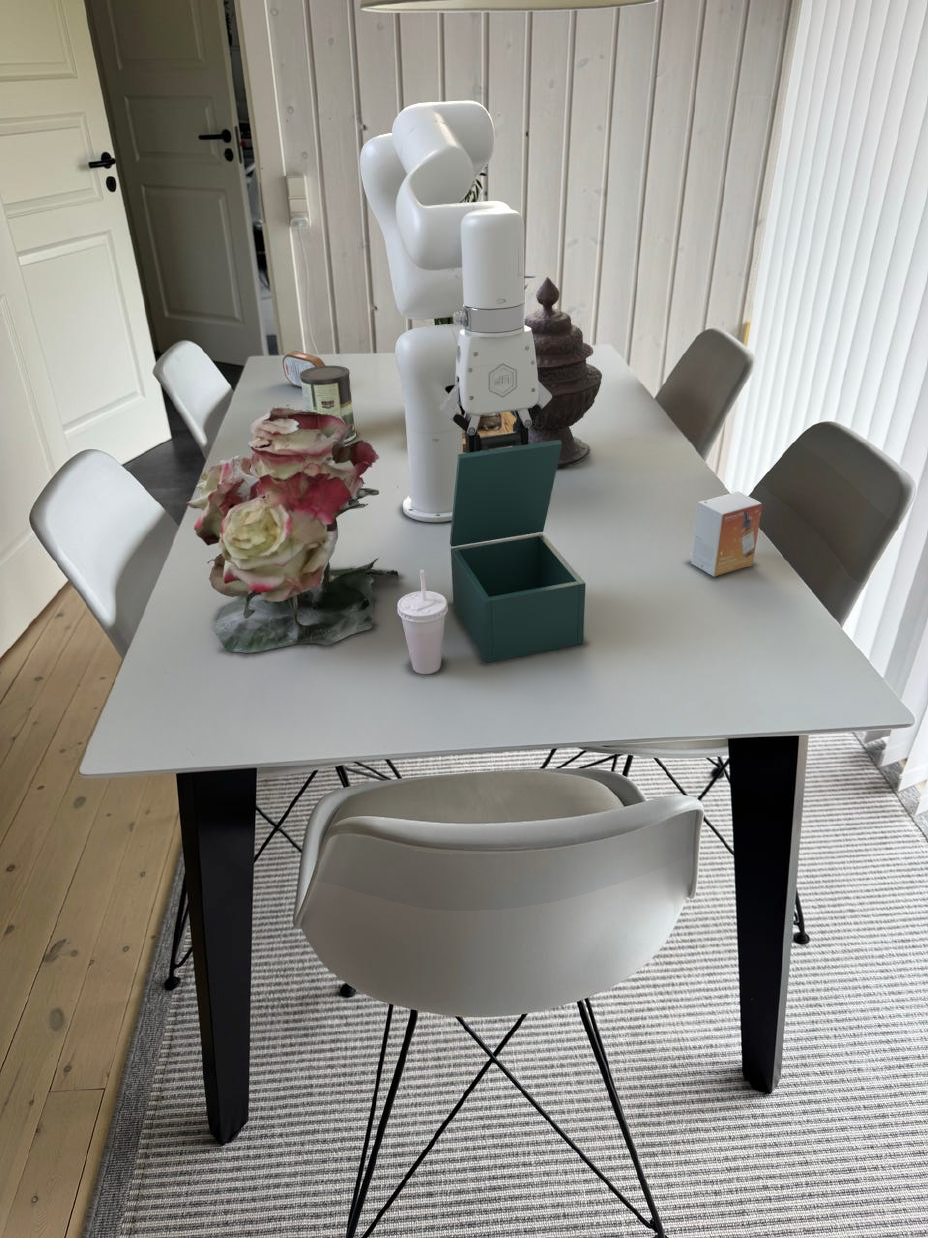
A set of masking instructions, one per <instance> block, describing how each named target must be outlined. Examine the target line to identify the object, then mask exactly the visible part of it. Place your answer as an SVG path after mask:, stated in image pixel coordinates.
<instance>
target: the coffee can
mask: <svg viewBox="0 0 928 1238" xmlns="http://www.w3.org/2000/svg"><path fill="white" fill-rule="evenodd" d="M300 379H301V385H302V388H301V391H302V399H303V406H304V411H306V412H308V411H310V412H317V413H321V414H328V415H330V414H331V415H333V416H336V417H341V418H342V419H343V421H344V422H345V424H346V426H347V428H348V435H347V436H346V438H345V440H344V443H345V444H346V443H349V442H351V441H353V440H354V439H355V438H356V436H357V434H356V428H355V427H356V426H355V418H354V409H353V399H352V398H353V397H352V389H351V380H350V379H351V378H350V369H349V368H347V367H346V366H341V365H326V366H318V367H313V368H309V369H306V370H304V371H302V372H301V373H300Z"/></svg>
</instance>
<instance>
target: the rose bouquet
mask: <svg viewBox="0 0 928 1238" xmlns="http://www.w3.org/2000/svg"><path fill="white" fill-rule="evenodd" d="M289 406H290V404H286V405H285V406H284V407H282V406H281V407H271V408H269V409H268V411H267V412H266V413H265V414H264V415H263V416H260V417H257V418H256V419H255V420H254V421H253V422H252V423H251V425H250V426H249V431H250V432H249V433H250V434H251V435H252V436H253V437H252V441H251V440H250V441H248V443H247V444H248V447H249V448H250V449H251V450H252V452H254V453H252V454H251V456H250V458H248V457H245V456H243V455H240V454H238V455H235V456H233V457H231V458H227V459H222V460H219V462H218V464H216V465H213V466H211V467H210V468H209V469H207V470H205V471H204V472H202V473H201V475H200V479H202V480H203V482H200V483H197V485H195V487H196V488H198V490H199V492H200V493H199V497H198V498H195V499H193V500H190V501H187V502H185V505H186V506H187V505H188V506H189V508H191V509H196V510H197V509H200V510H201V511H202V513H201V514H200V516H199V518H198V519H197V520H196V522H195V524H194V525H193V530H194V531H195V535H196V536H197V537H198V538H200V539H201V540H202V541H203V542H204V544H205V545H206V546H208V547H210V546H212V545H215V544H218V545H217V546H218V547H219V548H220V550H221V551H220V554H218V556H215V558H214V559H210V560H208V561H207V562H206V563H207V564H209V563H210V562H214V564H213V566H212V567H211V569H210V574H209V577H208V580H209V582H210V585H211V587H212V589H213V590H215V591H216V592H218V593H219V594H221V595H223V596H226V597H230V598H235V597H242V599H239V600H237V601H235V602H233V603H231V604H229V605H227V606H224V608H223V609H222V611H221V612H220V615H219V616H218V618H217V621H216V623H215V625H214V627H213V630H212V632H213V633H214V634H215V636H217V638H218V640H219V641H220V643H221V644H222V646H223V647H224V649H225V651H226V652H231V653H232V652H234V653H235V652H236V653H244V654H249V653H260V652H264V651H269V650H273V649H279V648H282V647H287V646H292V645H300V644H302V645H303V644H318V645H323V646H331V645H334V643H337V642H339V641H340V640H343V639H345V638H347V637H348V636H350V635H351V636H352V635H354V634H356V633H362V632H364V631H368V630H371V629H372V626H373V620H374V619H373V616H374V602H373V601H374V599H373V592H372V591H373V589H372V584H373V583H374V578H373V577H372V576H373V575H376V576H386V575H387V576H388V575H391V576H396V577H397V578H398V579H397V580H400V579H399V577H400V576H399V572H398V571H397V570H394V569H392V570H391V569H390V570H389V571H387V570H383V569H374V565H375V563H376V561H379V559H380V557H378V558H375V559H374V560H373V561H371V562H369V563H367V564H364V565H361V566H359V567H356V568H353V567H349V568H342V569H331V563H330V561H331V558H332V556H333V555H334V552H335V549H336V546H337V545H336V544H337V542H338V539H339V528H338V527H339V525H338V521H337V518H338V517H340V516H341V515H342V514H343V513H346V512H347V511H350V510H357V509H364V508H365V507H367V506H368V505H369V503H366V504H365V503H362V502H360V500H362V499H364V498H366V497H368V496H377V495H380V490H379V489H376V488H370V487H364V485H365V484H367V483H366V482H365V481H364V478H363V477H361V476H362V475H364V474H365V473H366V472H367V470H368V469H369V468H373V464H375V463H377V460H379V459H380V456H379V455H378V454H377V452H376V450H375V449H374V447H373V446H372V444H371V442H370V441H369V440H367V439H365V440H364V439H361V440H357V441H355V442H352V443H349V444H347V445H345V444H346V443H344V440H345V438H346V436H347V435H348V428H347V426H346V424H345V422H344V421H343V419H342V418H341V417H336V416H333V415H331V414H330V415H328V414H321V413H317V412H310V411H308V412H306V411H305V410H302V409H295V408H290V407H289ZM251 467H252V469H253V470H254V472H255V473H256V475H257V476H255V475H254V474H253V472H252V471H251ZM396 486H397V487H396V488H397V489H399V485H396ZM370 575H372V576H370Z"/></svg>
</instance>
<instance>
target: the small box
mask: <svg viewBox="0 0 928 1238" xmlns="http://www.w3.org/2000/svg"><path fill="white" fill-rule="evenodd" d="M696 505H697V506H696V511H695V520H694V529H693V530H694V531H693V539H692V547H691V555H690V564H692V565H694V566H695V567H697V568H698V569H700V570H702V571H704V572H705V573H706V574H708V575H710V576H712V577H714V578H715V577H718V576H721V575H724V574H727V573H730V572H733V571H737V570H740V569H744V568H748V567H751V566H753V564H754V559H755V553H756V546H757V540H758V534H759V529H760V521H761V515H762V509H763V502H762V501H761V502H760V501H759V500H757V499H755V498H753V497H751V496H750V495H749V496H748V495H747V494H744V493H743V492H740V491H738V490H736V491H733V492H731V493H727V494H724V495H723V494H722V495H720V496H716V497H713V498H709V499H708V498H707V499H705V500H700V501H697V504H696Z"/></svg>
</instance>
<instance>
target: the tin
mask: <svg viewBox="0 0 928 1238" xmlns="http://www.w3.org/2000/svg"><path fill="white" fill-rule="evenodd" d="M318 366H327V364H325V362H324V361H323V359H321V357H319V356H317V355H313V354H309V353H305V352H302V351H298V350H293V351H292V352H289V353H287V354H285V355H284V357H283V359H282V368H283V372H284V376H285V378H286V379H287V380H288V383H290V384H291V385H293V386H294V387H298V388H301V389H302V385H301V379H300V373H301V372H302V371H304V370H306V369H309V368H313V367H318Z"/></svg>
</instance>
